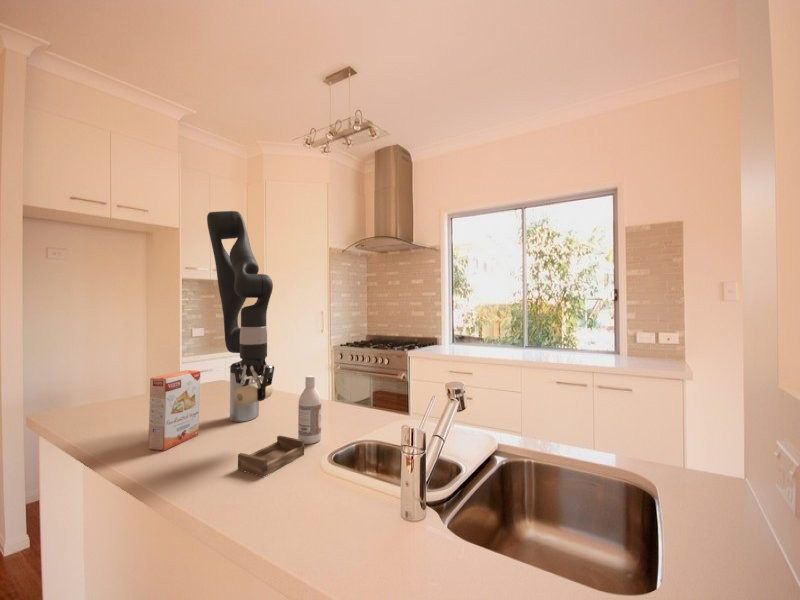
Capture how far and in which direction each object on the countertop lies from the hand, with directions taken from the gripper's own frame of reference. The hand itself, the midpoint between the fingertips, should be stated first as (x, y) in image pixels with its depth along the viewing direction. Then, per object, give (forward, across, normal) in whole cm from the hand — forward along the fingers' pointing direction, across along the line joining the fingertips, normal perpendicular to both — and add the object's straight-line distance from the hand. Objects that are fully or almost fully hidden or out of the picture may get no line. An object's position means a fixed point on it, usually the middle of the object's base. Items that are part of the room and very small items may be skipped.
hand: (253, 399), depth 110 cm
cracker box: (+15, +25, +6) cm, 30 cm away
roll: (+1, 0, 0) cm, 1 cm away
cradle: (+14, -12, +5) cm, 19 cm away
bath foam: (+15, -11, -12) cm, 22 cm away
